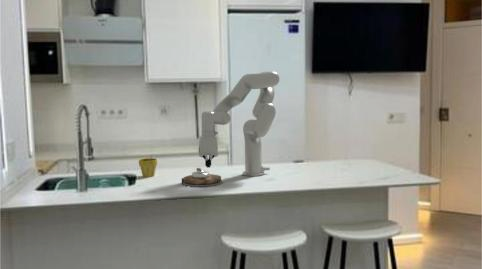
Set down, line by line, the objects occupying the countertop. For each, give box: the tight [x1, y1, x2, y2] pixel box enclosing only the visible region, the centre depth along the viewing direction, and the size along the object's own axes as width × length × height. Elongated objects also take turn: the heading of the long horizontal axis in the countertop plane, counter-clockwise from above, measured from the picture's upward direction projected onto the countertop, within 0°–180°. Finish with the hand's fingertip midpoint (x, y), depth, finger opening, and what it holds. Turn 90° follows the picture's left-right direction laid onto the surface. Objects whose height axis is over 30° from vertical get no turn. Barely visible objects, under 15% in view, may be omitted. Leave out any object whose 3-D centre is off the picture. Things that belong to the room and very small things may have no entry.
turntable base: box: [181, 177, 224, 188], centre depth 261 cm, size 22×22×3 cm
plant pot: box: [138, 157, 158, 178], centre depth 283 cm, size 10×10×10 cm
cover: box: [191, 169, 210, 179], centre depth 260 cm, size 9×9×4 cm
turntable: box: [182, 167, 222, 185], centre depth 261 cm, size 20×20×5 cm
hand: (208, 167), depth 270 cm, fingers closed
